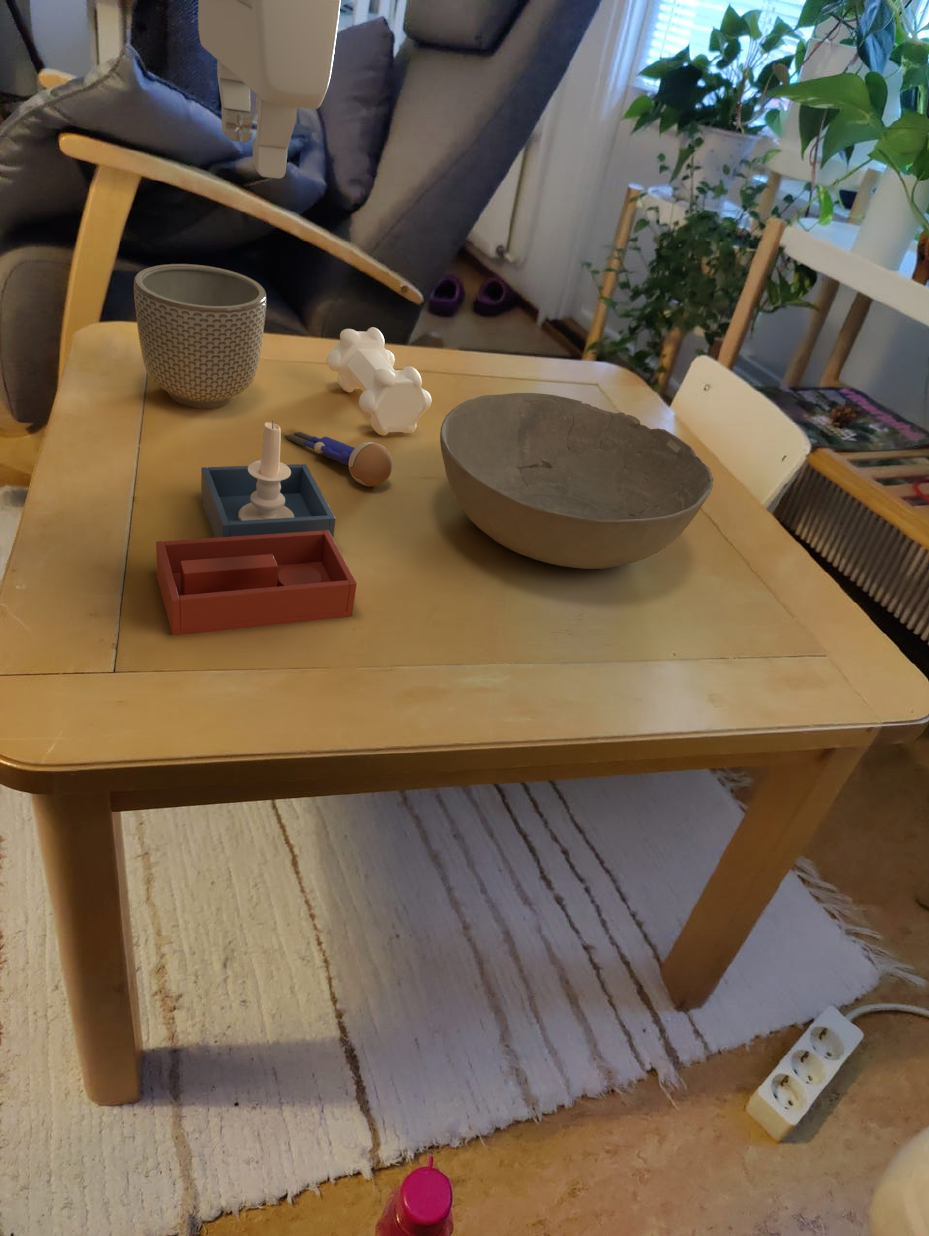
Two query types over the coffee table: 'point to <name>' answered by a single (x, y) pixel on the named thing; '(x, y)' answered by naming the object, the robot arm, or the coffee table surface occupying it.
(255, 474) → the candle
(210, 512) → the blue bin
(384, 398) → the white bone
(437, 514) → the coffee table surface
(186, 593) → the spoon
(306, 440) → the toy
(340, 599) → the red bin
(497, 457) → the bowl
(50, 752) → the coffee table surface
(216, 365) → the planter
